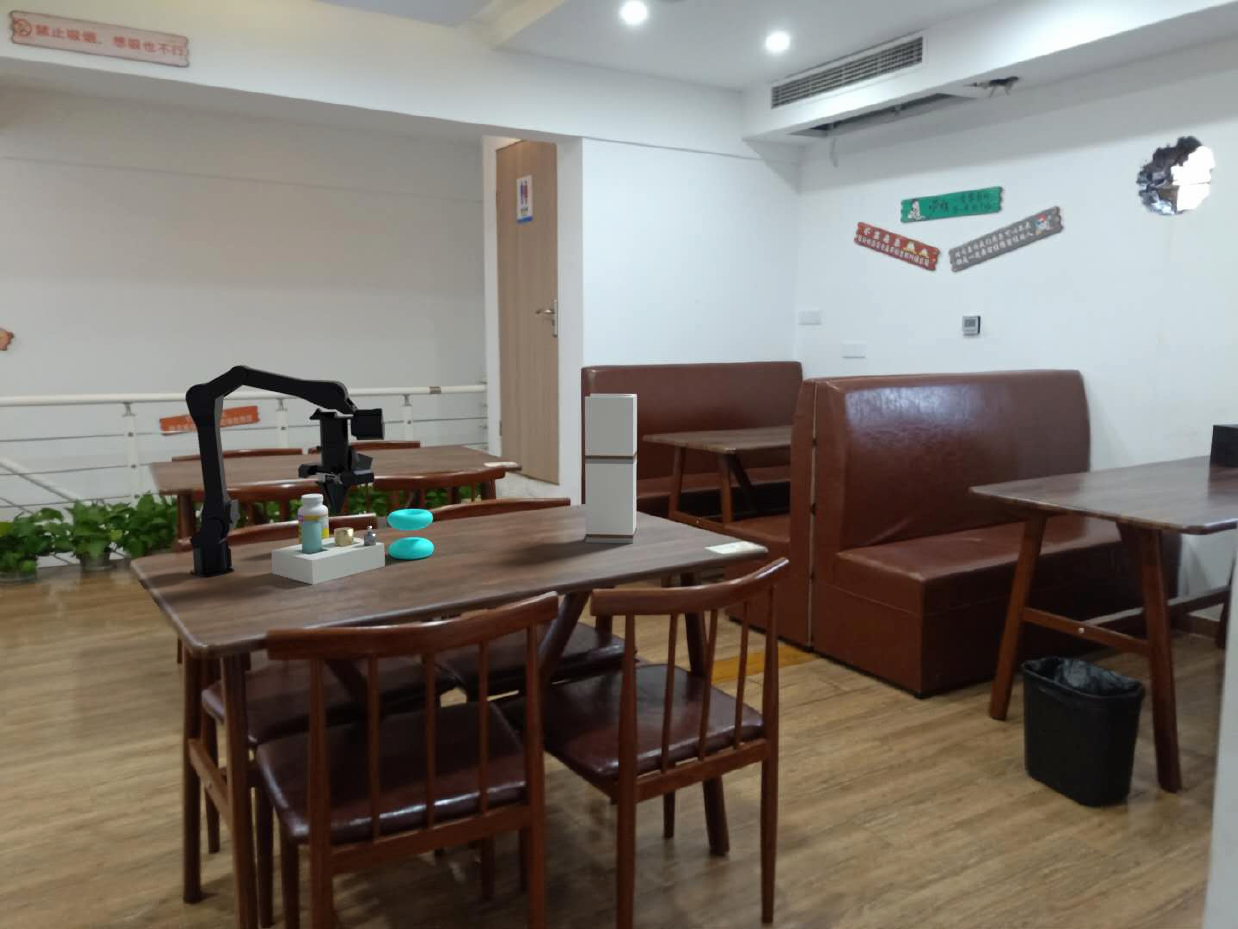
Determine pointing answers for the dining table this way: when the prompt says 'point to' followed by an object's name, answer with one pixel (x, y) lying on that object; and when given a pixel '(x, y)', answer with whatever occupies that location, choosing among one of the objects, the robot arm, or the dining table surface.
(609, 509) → the toy refrigerator
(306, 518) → the supplement bottle
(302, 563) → the mount
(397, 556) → the donuts
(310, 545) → the teal cylinder
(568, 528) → the dining table surface
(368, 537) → the potentiometer
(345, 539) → the brass knob
